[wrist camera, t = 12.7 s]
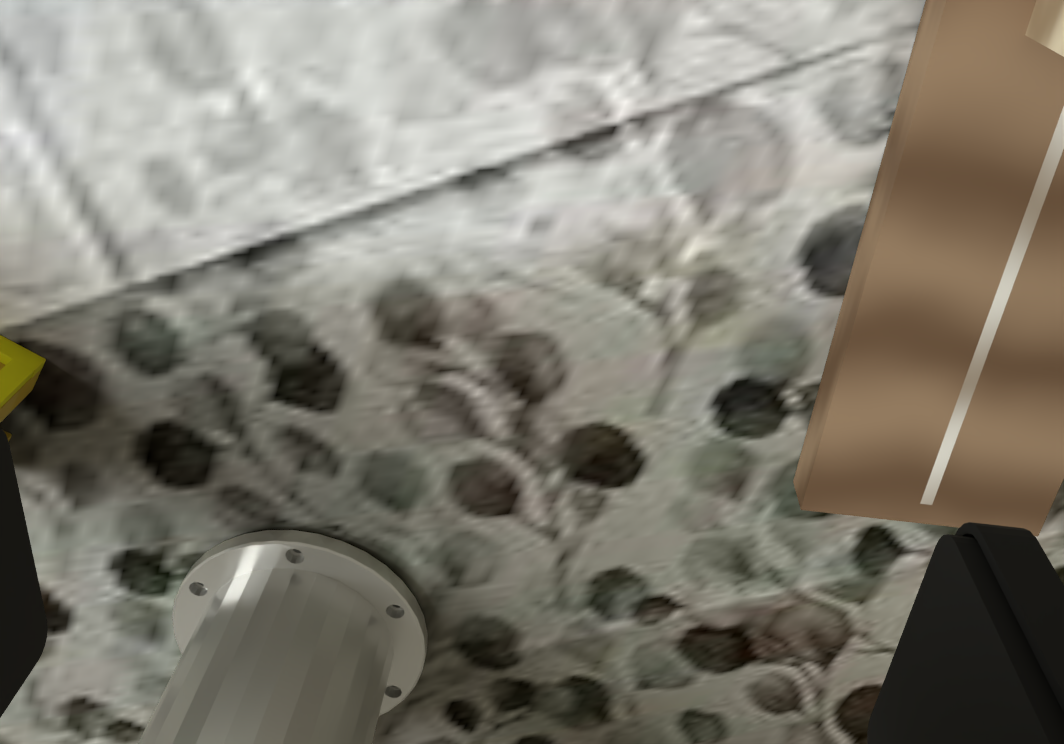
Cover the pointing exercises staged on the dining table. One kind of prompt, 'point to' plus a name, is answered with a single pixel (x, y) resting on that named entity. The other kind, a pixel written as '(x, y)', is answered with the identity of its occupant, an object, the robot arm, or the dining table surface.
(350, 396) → the dining table surface
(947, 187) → the board
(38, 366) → the book
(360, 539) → the dining table surface
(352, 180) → the dining table surface
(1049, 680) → the robot arm
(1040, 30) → the cream knobbed box
